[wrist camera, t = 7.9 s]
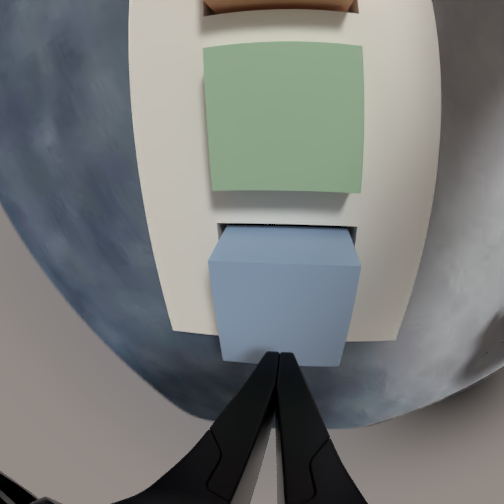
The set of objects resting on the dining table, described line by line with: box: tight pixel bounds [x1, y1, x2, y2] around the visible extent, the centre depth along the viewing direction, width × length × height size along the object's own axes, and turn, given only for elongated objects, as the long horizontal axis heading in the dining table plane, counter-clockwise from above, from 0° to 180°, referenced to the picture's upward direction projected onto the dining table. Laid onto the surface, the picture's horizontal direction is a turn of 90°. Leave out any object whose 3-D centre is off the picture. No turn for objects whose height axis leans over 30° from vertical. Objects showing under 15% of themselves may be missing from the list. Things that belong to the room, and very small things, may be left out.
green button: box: [203, 41, 364, 193], centre depth 9 cm, size 5×5×3 cm
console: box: [129, 0, 441, 342], centre depth 10 cm, size 12×21×2 cm, turn 2°
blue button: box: [208, 225, 361, 366], centre depth 12 cm, size 5×5×3 cm
